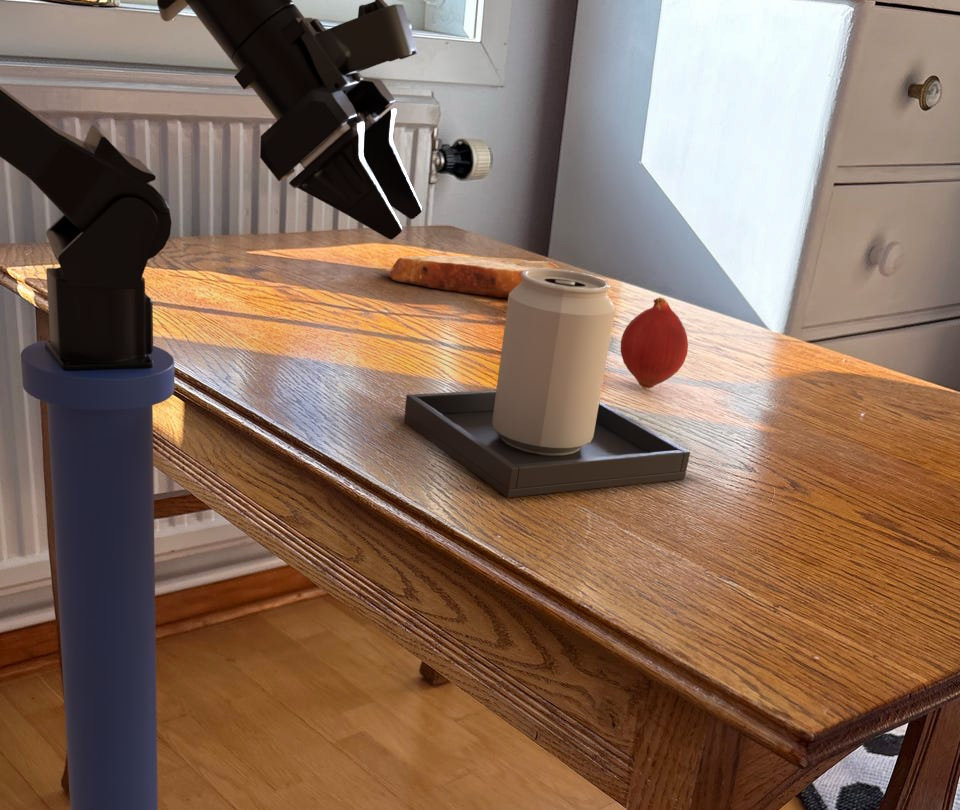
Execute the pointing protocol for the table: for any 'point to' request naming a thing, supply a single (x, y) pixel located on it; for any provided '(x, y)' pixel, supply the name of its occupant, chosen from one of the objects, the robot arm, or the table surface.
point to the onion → (654, 344)
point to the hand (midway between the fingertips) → (407, 224)
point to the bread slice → (465, 273)
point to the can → (553, 361)
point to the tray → (601, 463)
